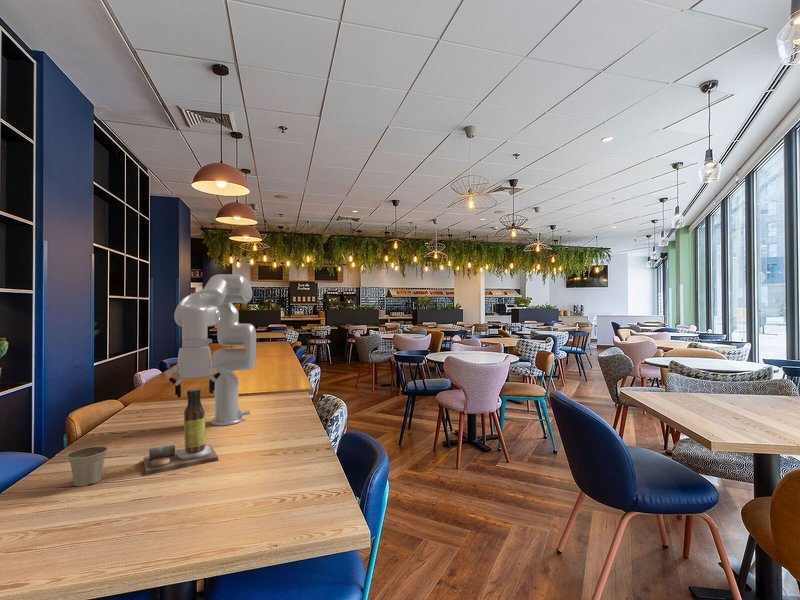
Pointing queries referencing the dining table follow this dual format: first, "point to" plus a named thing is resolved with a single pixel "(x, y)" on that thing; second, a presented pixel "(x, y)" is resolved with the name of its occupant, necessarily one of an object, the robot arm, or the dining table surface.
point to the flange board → (176, 458)
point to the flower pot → (87, 464)
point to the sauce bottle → (194, 423)
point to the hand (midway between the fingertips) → (195, 394)
